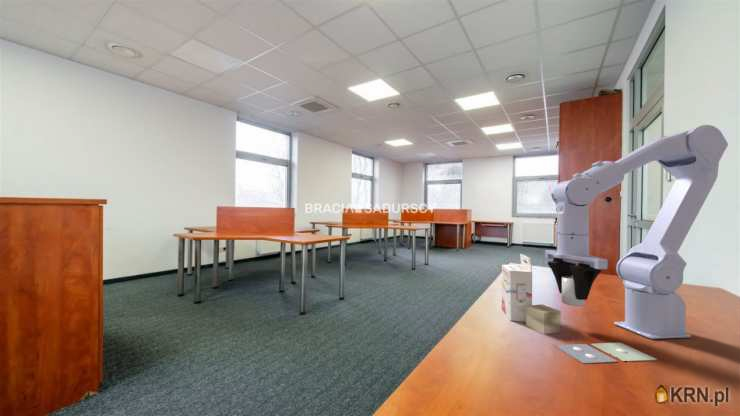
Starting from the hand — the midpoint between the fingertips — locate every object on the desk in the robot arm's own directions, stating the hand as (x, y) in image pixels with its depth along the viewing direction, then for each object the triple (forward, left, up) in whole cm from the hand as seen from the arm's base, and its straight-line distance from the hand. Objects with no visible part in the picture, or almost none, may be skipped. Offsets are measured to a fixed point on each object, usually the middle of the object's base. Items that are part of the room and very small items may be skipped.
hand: (572, 296), depth 63 cm
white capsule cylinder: (0, 0, -2) cm, 2 cm away
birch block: (+7, 0, -7) cm, 10 cm away
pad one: (0, +11, -7) cm, 13 cm away
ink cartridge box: (+8, -8, -7) cm, 13 cm away
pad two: (+8, +11, -7) cm, 15 cm away
